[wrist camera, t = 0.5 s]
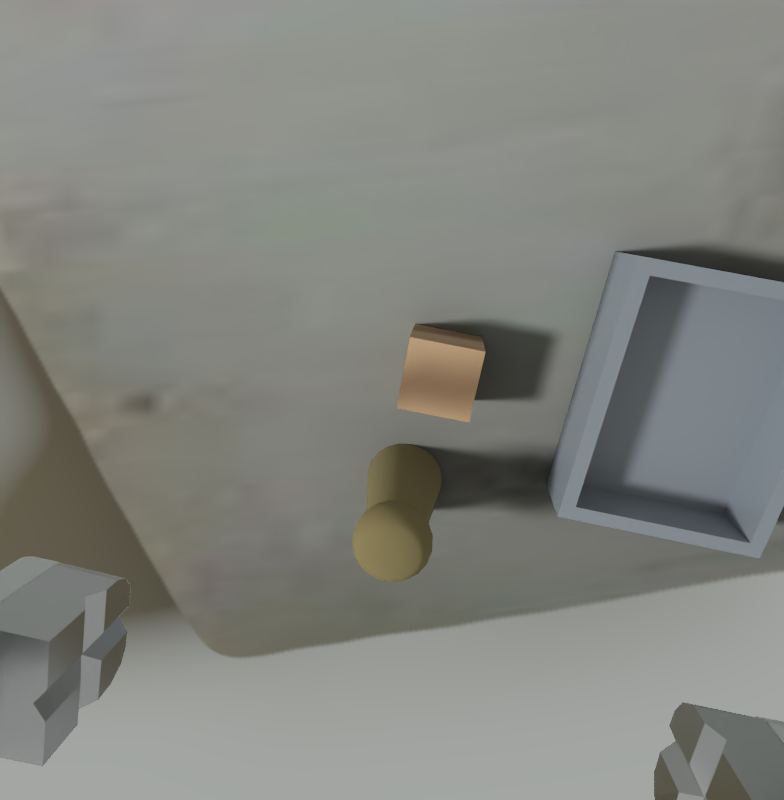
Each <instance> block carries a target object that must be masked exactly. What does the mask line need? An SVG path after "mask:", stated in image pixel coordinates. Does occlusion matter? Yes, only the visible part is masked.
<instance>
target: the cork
mask: <svg viewBox="0 0 784 800" xmlns="http://www.w3.org/2000/svg"><path fill="white" fill-rule="evenodd" d="M441 486H442V473H441V470H440V467H439V464H438V463H437V461H436V460H435V459H434V457H433V456H432V455H431V454H430V453H428V452H427V451H425V450H424V449H423V448H420V447H417V446H414V445H411V444H397V445H393V446H389V447H387V448H385V449H384V450H382V451H380V452H379V453H378V454H377V455H376V456H375V458H374V459H373V460H372V462H371V464H370V467H369V470H368V485H367V505H366V511H365V513H364V514H363V515H362V516H361V517H360V518H359V520H358V522H357V525H356V527H355V530H354V533H353V551H354V554H355V556H356V559H357V561H358V562H359V564H360V565H361V566H362V567H363V569H364V570H365V571H366V572H368V573H369V574H370V575H372V576H373V577H375V578H377V579H380V580H383V581H390V582H397V581H402V580H406V579H409V578H411V577H412V576H414V575H416V574H418V573H419V572H420V571H421V570H422V569H423V568H424V567H425V565H426V564H427V562H428V559H429V557H430V555H431V552H432V532H431V529H430V526H429V524H428V523H429V520H430V517H431V515H432V512H433V509H434V506H435V503H436V500H437V497H438V494H439V492H440V489H441Z"/></svg>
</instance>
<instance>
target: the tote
mask: <svg viewBox="0 0 784 800" xmlns="http://www.w3.org/2000/svg"><path fill="white" fill-rule="evenodd" d="M546 485H547V488H548V491H549V494H550V496H551V499H552V502H553V505H554V508H555V511H556V513H557V516H558V517H562V518H567V519H572V520H577V521H582V522H586V523H591V524H596V525H601V526H606V527H610V528H615V529H620V530H625V531H630V532H634V533H639V534H644V535H649V536H654V537H658V538H663V539H668V540H673V541H678V542H682V543H687V544H692V545H697V546H702V547H706V548H711V549H716V550H721V551H726V552H730V553H735V554H740V555H745V556H750V557H755V558H759V559H760V557H761V554H762V552H763V550H764V548H765V546H766V544H767V541H768V539H769V537H770V535H771V533H772V531H773V528H774V526H775V524H776V522H777V520H778V517H779V515H780V513H781V511H782V509H783V507H784V282H779V281H774V280H769V279H763V278H758V277H752V276H747V275H741V274H736V273H730V272H725V271H720V270H714V269H709V268H703V267H698V266H692V265H687V264H681V263H676V262H671V261H665V260H660V259H654V258H649V257H643V256H638V255H632V254H627V253H621V252H615V254H614V257H613V261H612V264H611V267H610V271H609V274H608V278H607V281H606V284H605V288H604V291H603V294H602V298H601V301H600V305H599V308H598V311H597V315H596V318H595V321H594V325H593V328H592V332H591V335H590V338H589V342H588V345H587V348H586V352H585V355H584V359H583V362H582V365H581V369H580V372H579V376H578V379H577V382H576V386H575V389H574V392H573V396H572V399H571V403H570V406H569V409H568V413H567V416H566V419H565V423H564V426H563V430H562V433H561V436H560V440H559V443H558V446H557V450H556V453H555V457H554V460H553V463H552V467H551V470H550V474H549V477H548V480H547V484H546Z"/></svg>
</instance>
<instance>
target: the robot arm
mask: <svg viewBox="0 0 784 800" xmlns="http://www.w3.org/2000/svg"><path fill="white" fill-rule="evenodd" d="M130 587H131V586H130V584H129V582H128V581H127V580H126V579H125V578H122V577H118V576H114V575H110V574H106V573H101V572H97V571H93V570H89V569H85V568H81V567H77V566H73V565H69V564H65V563H64V564H61V563H60V562H56V561H52V560H47V559H42V558H38V557H33V556H31V557H22V558H20V559H18V560H17V561H15V562H14V563H12V564H11V565H9V566H7V567H6V568H4V569H3V570H1V571H0V758H6V759H11V760H15V761H20V762H25V763H30V764H35V765H40V766H43V765H44V764H45V763H46V762H47V760H48V759H49V758H50V757H51V755H52V754H53V753H54V752H55V751H56V750H57V748H58V747H59V746H60V745H61V744H62V742H63V741H64V740H65V739H66V737H67V736H68V735H69V734H70V733H71V732H72V731H73V729H74V728H75V727H76V726H77V721H78V710H79V708H81V707H84V706H86V705H88V704H90V703H92V702H94V701H96V700H98V699H99V698H100V696H101V695H102V694H103V693H104V692H105V690H106V689H107V688H108V687H109V685H110V684H111V682H112V680H113V678H114V676H115V674H116V672H117V670H118V668H119V666H120V664H121V662H122V658H123V654H124V651H125V647H126V639H127V630H126V629H125V627H124V625H123V623H122V622H121V620H120V618H119V616H120V615H121V614H122V613H123V612H124V610H125V609H126V608H127V607H128V606H129V605H130ZM670 728H671V730H672V733H673V735H674V738H675V740H676V741H675V742H674V743H672V744H671V745H670V746H668V747H667V748H665V749H664V750H663V751H661V752H660V755H659V758H658V761H657V765H656V768H655V771H654V797H655V800H784V722H782V721H777V720H771V719H766V718H760V717H750V716H746V715H741V714H736V713H731V712H726V711H721V710H717V709H712V708H707V707H703V706H697V705H693V704H688V703H682V704H681V705H680V706H679V707H678V708H677V709H676V710H675V712H674V715H673V717H672V720H671V723H670Z"/></svg>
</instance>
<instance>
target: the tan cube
mask: <svg viewBox="0 0 784 800" xmlns="http://www.w3.org/2000/svg"><path fill="white" fill-rule="evenodd" d="M485 352H486V351H485V347H484V343H483V339H482V337H480V336H475V335H470V334H465V333H460V332H454V331H449V330H444V329H439V328H434V327H429V326H423V325H418V324H415V326H414V328H413V331H412V333H411V336H410V340H409V345H408V351H407V356H406V361H405V367H404V372H403V377H402V382H401V388H400V393H399V398H398V404H397V408H399V409H404V410H409V411H414V412H419V413H424V414H429V415H434V416H439V417H444V418H449V419H454V420H459V421H464V422H469V420H470V416H471V412H472V408H473V403H474V399H475V395H476V391H477V386H478V382H479V378H480V374H481V369H482V365H483V361H484V357H485Z"/></svg>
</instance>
